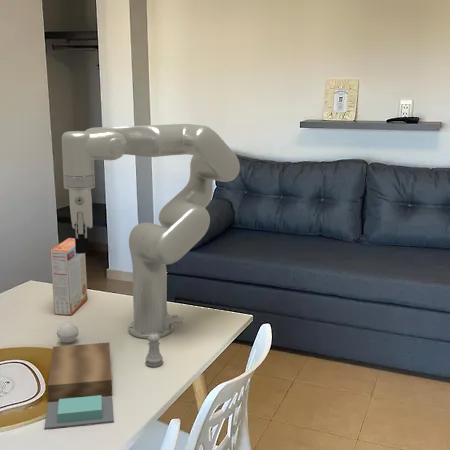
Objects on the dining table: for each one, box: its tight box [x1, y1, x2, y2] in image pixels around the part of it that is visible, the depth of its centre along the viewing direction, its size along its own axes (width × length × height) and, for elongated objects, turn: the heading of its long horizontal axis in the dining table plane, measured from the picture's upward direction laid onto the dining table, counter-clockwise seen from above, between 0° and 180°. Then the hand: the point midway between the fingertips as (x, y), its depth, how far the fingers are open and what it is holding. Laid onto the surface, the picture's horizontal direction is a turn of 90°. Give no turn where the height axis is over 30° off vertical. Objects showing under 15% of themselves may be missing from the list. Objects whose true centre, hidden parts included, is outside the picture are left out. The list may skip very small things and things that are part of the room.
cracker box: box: [49, 237, 88, 316], centre depth 183 cm, size 14×6×21 cm, turn 172°
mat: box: [44, 395, 115, 430], centre depth 127 cm, size 14×10×1 cm
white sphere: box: [56, 321, 79, 344], centre depth 160 cm, size 8×6×6 cm
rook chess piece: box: [144, 333, 164, 368], centre depth 149 cm, size 4×4×8 cm
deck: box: [46, 341, 113, 403], centre depth 142 cm, size 14×20×4 cm
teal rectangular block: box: [58, 395, 102, 423], centre depth 126 cm, size 9×6×2 cm, turn 102°
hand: (82, 252), depth 150 cm, fingers closed
